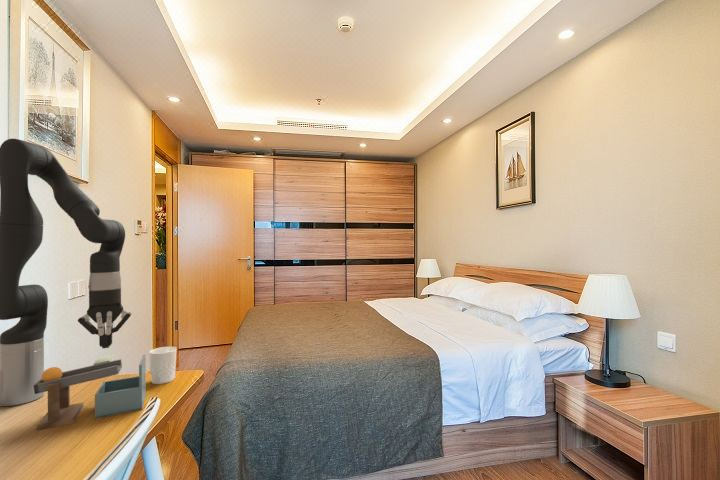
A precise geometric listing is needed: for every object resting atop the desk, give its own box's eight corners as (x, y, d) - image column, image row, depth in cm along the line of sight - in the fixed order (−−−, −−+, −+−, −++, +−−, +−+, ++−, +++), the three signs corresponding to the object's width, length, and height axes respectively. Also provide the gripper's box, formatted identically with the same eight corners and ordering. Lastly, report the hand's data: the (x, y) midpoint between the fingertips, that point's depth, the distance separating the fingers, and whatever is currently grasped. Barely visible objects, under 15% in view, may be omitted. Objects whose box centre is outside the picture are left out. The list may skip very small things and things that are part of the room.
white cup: (164, 385, 109) (164, 354, 109) (143, 384, 110) (143, 353, 110) (182, 376, 116) (181, 346, 116) (162, 375, 118) (161, 345, 118)
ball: (39, 388, 86) (37, 372, 85) (45, 382, 89) (43, 367, 89) (60, 383, 87) (58, 368, 87) (65, 378, 91) (63, 363, 91)
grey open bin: (95, 418, 88) (94, 371, 88) (103, 403, 97) (103, 360, 97) (141, 409, 93) (141, 364, 93) (145, 395, 102) (145, 354, 102)
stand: (36, 430, 83) (36, 387, 83) (50, 412, 92) (50, 374, 92) (73, 423, 86) (73, 382, 86) (83, 406, 95) (83, 369, 95)
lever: (34, 394, 84) (33, 383, 84) (53, 376, 96) (52, 366, 96) (118, 374, 92) (116, 364, 92) (125, 359, 104) (124, 351, 104)
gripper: (134, 285, 106) (134, 341, 106) (80, 288, 100) (80, 347, 100) (130, 287, 100) (131, 347, 99) (72, 290, 93) (73, 354, 93)
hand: (105, 347), depth 100 cm, fingers closed
